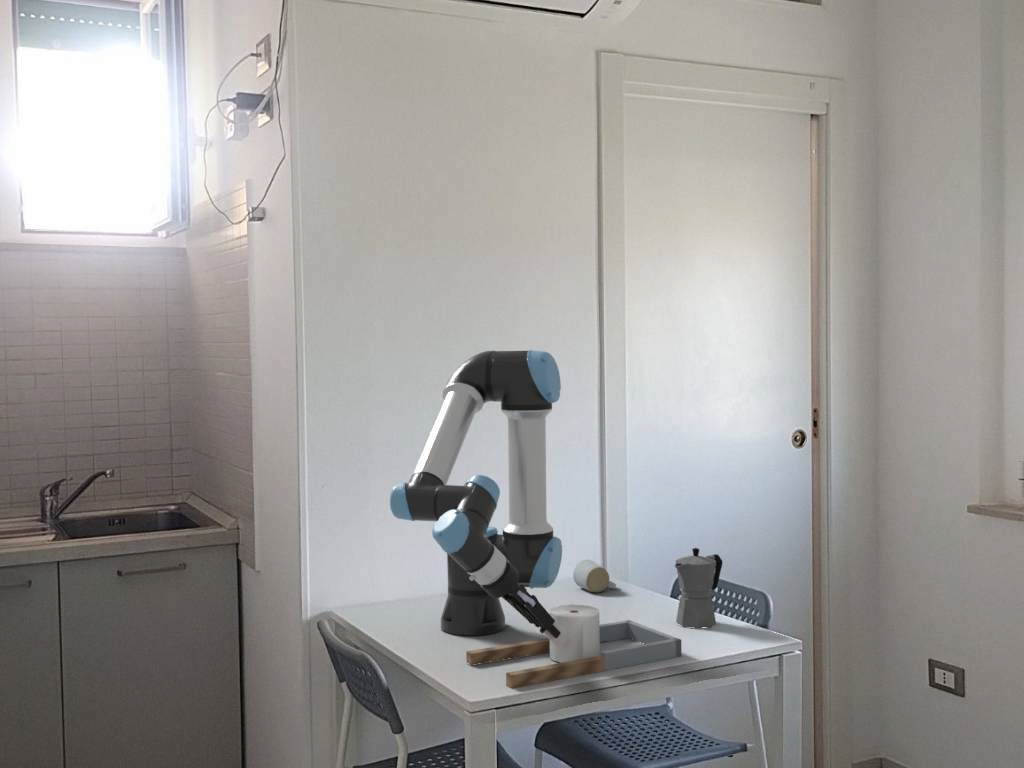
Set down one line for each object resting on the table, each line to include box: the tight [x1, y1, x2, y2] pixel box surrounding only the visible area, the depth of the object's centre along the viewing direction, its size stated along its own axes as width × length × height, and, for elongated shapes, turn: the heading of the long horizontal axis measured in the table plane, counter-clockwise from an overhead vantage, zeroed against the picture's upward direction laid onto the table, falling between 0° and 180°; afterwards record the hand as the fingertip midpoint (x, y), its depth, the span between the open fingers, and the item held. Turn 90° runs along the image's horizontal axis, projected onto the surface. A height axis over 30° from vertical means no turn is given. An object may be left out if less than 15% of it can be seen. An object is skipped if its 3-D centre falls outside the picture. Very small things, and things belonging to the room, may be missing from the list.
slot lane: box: [465, 637, 606, 689], centre depth 228 cm, size 22×19×2 cm
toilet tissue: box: [548, 604, 601, 663], centre depth 234 cm, size 11×12×10 cm
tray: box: [599, 619, 682, 671], centre depth 238 cm, size 20×19×4 cm
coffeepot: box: [674, 547, 723, 628], centre depth 261 cm, size 15×9×18 cm, turn 127°
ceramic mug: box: [572, 559, 617, 594], centre depth 296 cm, size 11×8×8 cm
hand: (564, 643), depth 230 cm, fingers closed
